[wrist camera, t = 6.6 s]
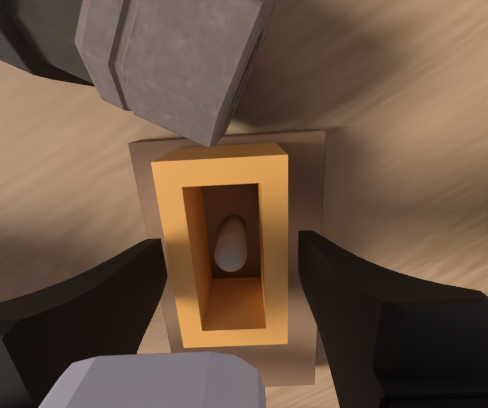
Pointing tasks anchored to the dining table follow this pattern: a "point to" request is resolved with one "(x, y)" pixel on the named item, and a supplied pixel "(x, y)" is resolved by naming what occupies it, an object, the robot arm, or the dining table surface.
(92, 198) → the dining table surface
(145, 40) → the tube
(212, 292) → the link
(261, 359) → the keeper base
